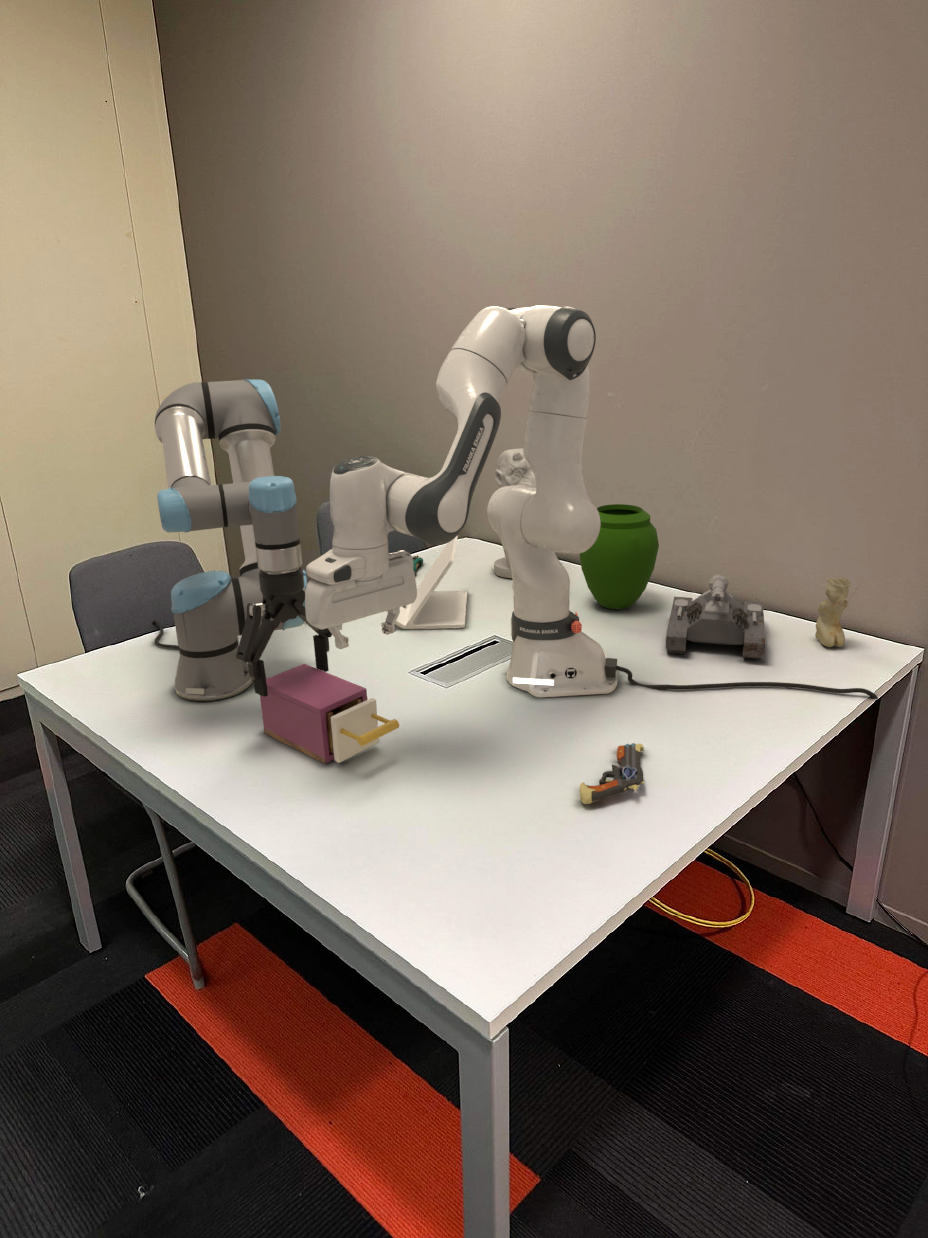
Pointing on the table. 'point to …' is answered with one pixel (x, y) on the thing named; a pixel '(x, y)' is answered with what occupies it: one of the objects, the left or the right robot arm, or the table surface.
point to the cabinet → (305, 708)
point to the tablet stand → (436, 599)
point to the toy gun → (617, 776)
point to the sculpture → (832, 613)
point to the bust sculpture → (507, 474)
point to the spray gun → (417, 562)
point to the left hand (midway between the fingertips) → (293, 681)
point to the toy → (717, 621)
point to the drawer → (355, 728)
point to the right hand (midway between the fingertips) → (365, 640)
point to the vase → (620, 556)
